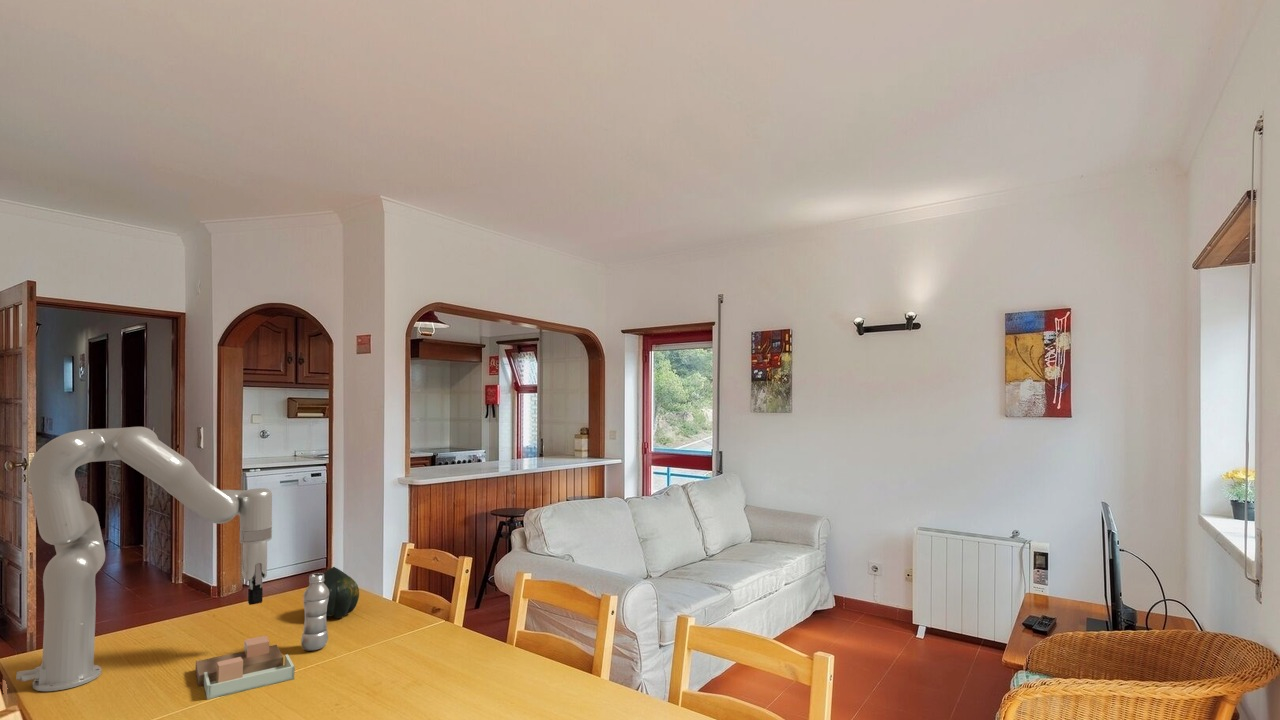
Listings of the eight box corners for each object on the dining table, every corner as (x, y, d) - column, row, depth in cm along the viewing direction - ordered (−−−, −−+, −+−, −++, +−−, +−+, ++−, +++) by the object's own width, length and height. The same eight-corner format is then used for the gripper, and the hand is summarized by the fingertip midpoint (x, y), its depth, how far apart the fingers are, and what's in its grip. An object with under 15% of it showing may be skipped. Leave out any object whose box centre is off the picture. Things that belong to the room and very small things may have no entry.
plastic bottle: (295, 650, 179) (297, 576, 180) (317, 642, 185) (319, 570, 186) (311, 655, 176) (313, 579, 177) (333, 646, 182) (335, 573, 183)
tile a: (216, 683, 159) (218, 687, 157) (216, 662, 159) (219, 666, 157) (240, 677, 162) (242, 681, 160) (240, 656, 162) (243, 660, 160)
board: (198, 686, 158) (199, 675, 158) (195, 671, 166) (195, 661, 166) (283, 667, 169) (283, 657, 169) (276, 654, 177) (276, 644, 177)
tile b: (246, 657, 168) (247, 645, 169) (244, 651, 172) (244, 639, 172) (269, 653, 171) (269, 641, 172) (265, 646, 175) (266, 635, 176)
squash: (331, 610, 196) (353, 563, 206) (288, 607, 199) (312, 561, 209) (354, 629, 205) (374, 583, 216) (313, 626, 209) (334, 581, 219)
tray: (207, 699, 151) (207, 686, 152) (203, 685, 159) (204, 672, 159) (294, 678, 162) (294, 666, 163) (287, 666, 170) (287, 654, 170)
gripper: (236, 532, 183) (235, 598, 183) (243, 542, 171) (242, 614, 171) (267, 528, 188) (266, 593, 187) (276, 538, 176) (275, 607, 176)
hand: (255, 602), depth 179 cm, fingers closed
